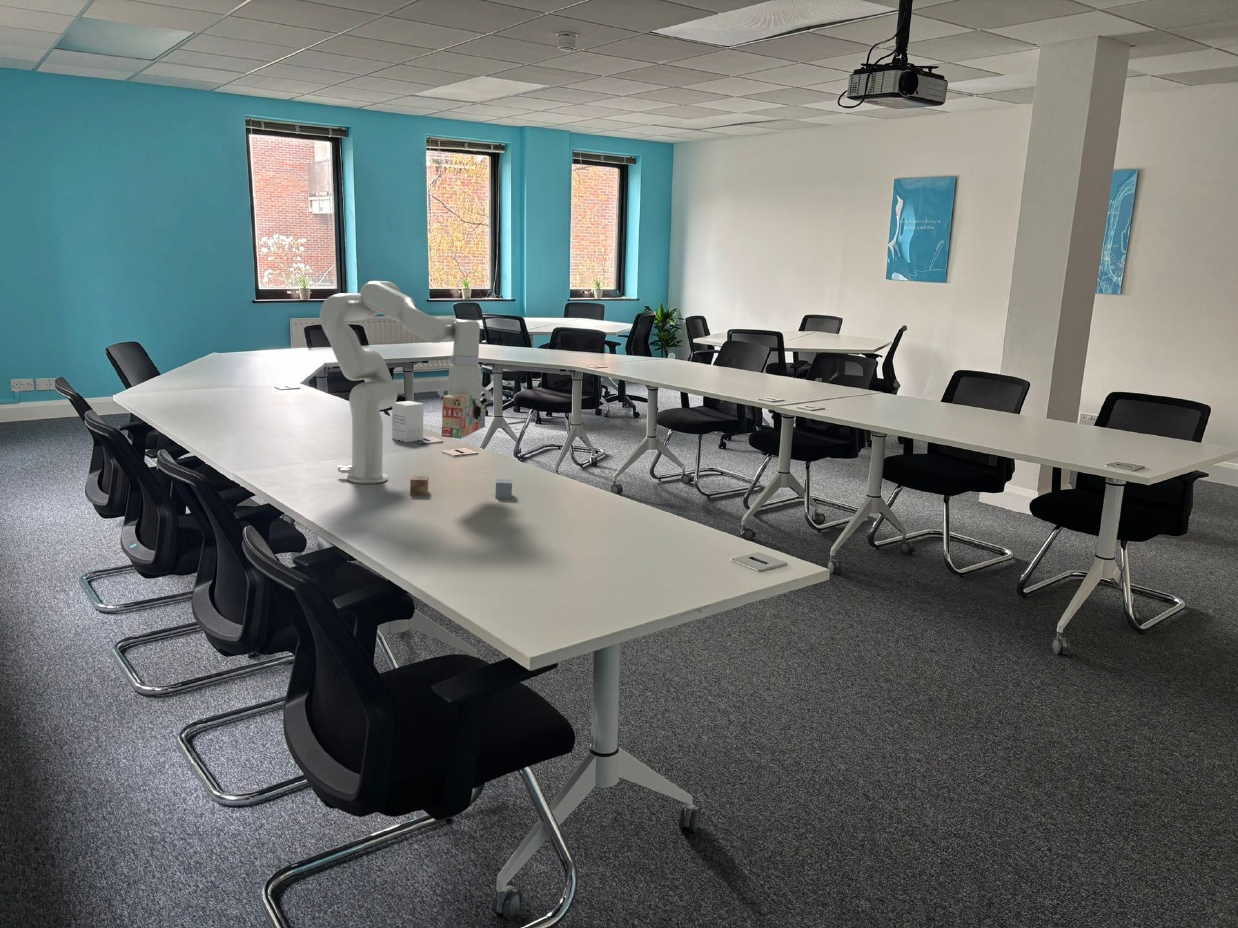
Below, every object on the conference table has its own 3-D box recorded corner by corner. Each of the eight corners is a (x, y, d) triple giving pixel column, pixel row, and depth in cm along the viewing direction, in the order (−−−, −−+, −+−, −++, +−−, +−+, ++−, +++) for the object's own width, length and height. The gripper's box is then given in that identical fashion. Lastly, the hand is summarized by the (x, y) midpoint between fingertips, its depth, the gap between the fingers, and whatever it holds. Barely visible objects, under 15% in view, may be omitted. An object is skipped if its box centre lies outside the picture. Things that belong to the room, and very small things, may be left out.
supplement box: (408, 436, 360) (409, 400, 357) (423, 440, 355) (424, 403, 352) (390, 439, 353) (391, 402, 350) (406, 442, 348) (406, 405, 345)
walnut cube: (410, 495, 272) (410, 479, 270) (411, 491, 276) (412, 475, 275) (426, 495, 272) (427, 480, 271) (428, 491, 277) (428, 476, 276)
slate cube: (495, 498, 275) (495, 482, 274) (495, 494, 280) (496, 478, 279) (511, 498, 276) (512, 483, 274) (511, 494, 280) (512, 479, 279)
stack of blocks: (466, 425, 284) (467, 387, 282) (485, 427, 283) (486, 389, 280) (441, 436, 264) (442, 395, 261) (461, 438, 262) (462, 397, 260)
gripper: (435, 360, 263) (433, 418, 267) (494, 364, 266) (492, 421, 269) (437, 358, 271) (436, 414, 274) (494, 361, 273) (492, 417, 277)
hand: (463, 417), depth 272 cm, fingers closed on stack of blocks, 7 cm apart
